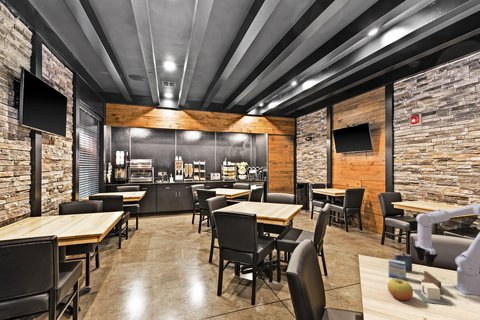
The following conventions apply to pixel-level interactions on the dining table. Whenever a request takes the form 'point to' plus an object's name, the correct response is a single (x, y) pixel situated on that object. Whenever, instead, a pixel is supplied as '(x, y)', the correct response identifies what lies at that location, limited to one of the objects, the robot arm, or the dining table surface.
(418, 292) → the slate pad
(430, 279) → the walnut screen
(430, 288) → the letter cube
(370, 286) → the dining table surface
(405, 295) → the apple
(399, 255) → the flask
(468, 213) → the robot arm
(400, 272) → the medicine box
